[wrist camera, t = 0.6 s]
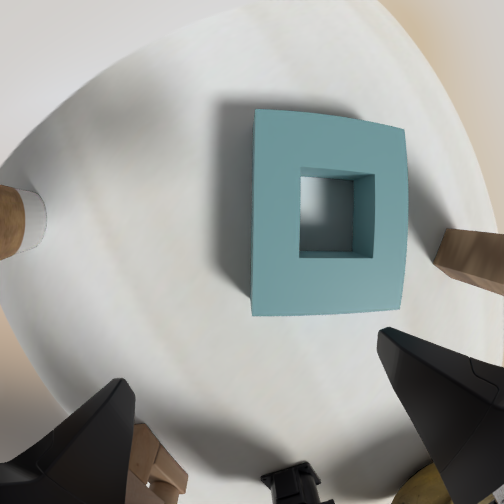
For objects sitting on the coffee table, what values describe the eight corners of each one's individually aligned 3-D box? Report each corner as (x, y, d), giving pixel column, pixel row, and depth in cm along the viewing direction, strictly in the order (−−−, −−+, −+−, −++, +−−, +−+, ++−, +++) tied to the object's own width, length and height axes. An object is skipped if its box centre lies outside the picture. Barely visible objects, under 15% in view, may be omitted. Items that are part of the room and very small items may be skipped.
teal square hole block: (377, 295, 22) (399, 309, 18) (250, 299, 22) (252, 316, 18) (381, 140, 21) (404, 129, 17) (252, 127, 20) (255, 108, 16)
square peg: (450, 277, 23) (519, 301, 13) (432, 263, 22) (506, 285, 12) (463, 244, 22) (532, 256, 12) (446, 228, 22) (520, 236, 12)
